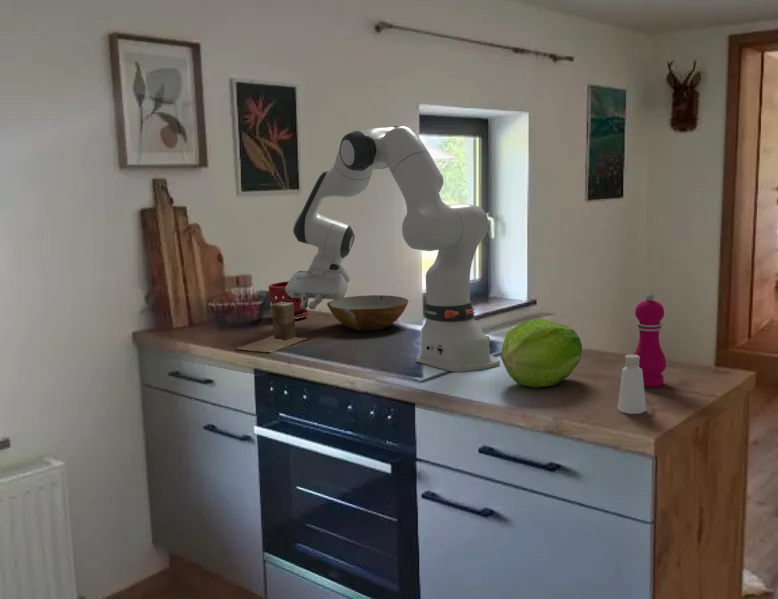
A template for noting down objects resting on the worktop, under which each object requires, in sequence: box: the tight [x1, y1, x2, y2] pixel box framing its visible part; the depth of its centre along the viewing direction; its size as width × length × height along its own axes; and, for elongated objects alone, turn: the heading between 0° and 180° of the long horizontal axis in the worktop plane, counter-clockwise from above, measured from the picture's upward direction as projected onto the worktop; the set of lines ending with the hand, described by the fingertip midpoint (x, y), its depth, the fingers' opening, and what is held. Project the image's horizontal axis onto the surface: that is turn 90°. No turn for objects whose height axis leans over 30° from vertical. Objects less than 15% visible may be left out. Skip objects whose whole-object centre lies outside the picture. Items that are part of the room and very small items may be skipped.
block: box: [271, 302, 297, 340], centre depth 235 cm, size 4×4×10 cm
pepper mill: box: [633, 293, 667, 388], centre depth 177 cm, size 7×7×20 cm
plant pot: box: [268, 280, 310, 317], centre depth 269 cm, size 13×13×12 cm
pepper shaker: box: [617, 353, 647, 415], centre depth 159 cm, size 5×5×11 cm
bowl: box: [326, 294, 409, 332], centre depth 250 cm, size 25×25×8 cm
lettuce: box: [500, 318, 583, 388], centre depth 180 cm, size 15×23×16 cm
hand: (307, 308), depth 246 cm, fingers closed
